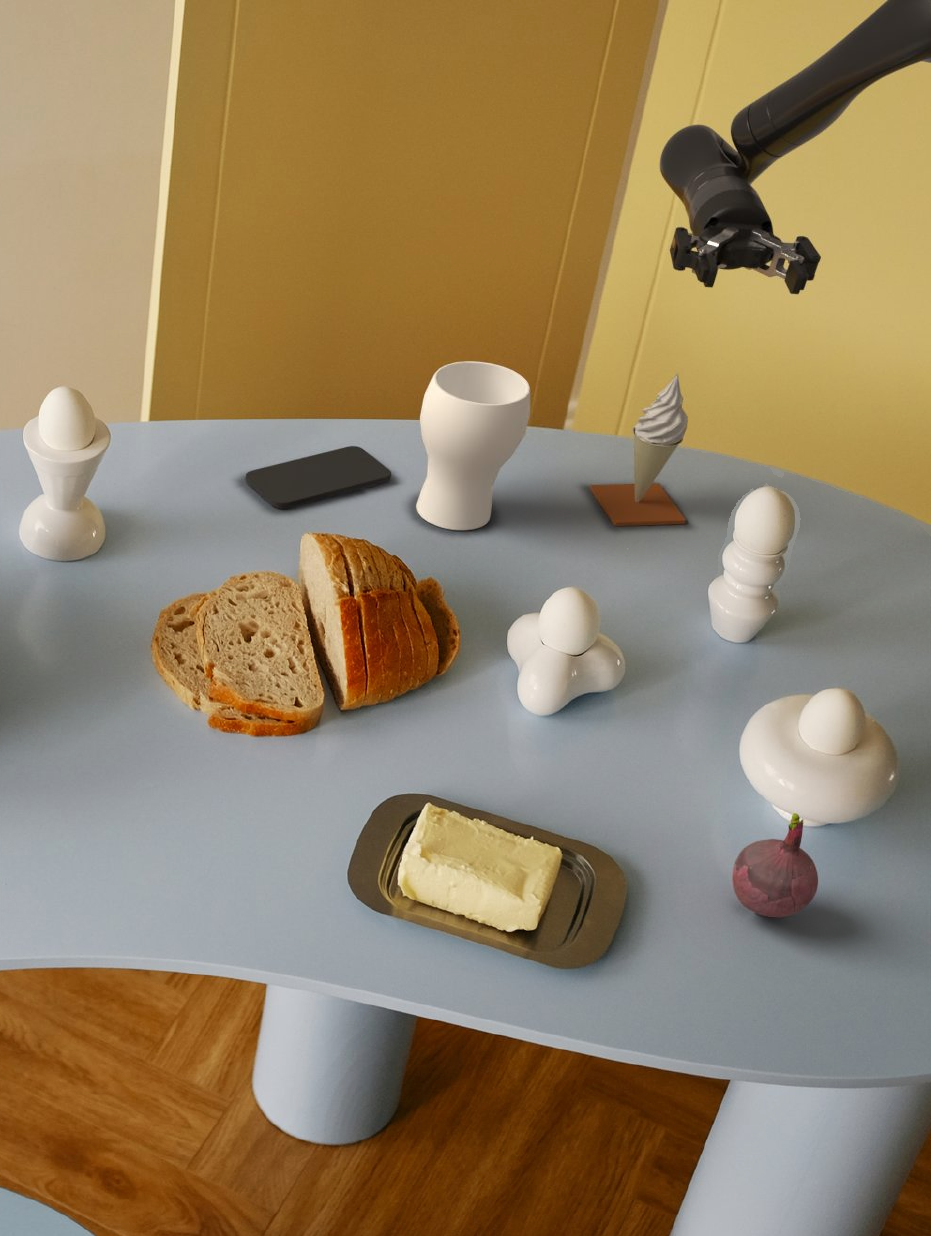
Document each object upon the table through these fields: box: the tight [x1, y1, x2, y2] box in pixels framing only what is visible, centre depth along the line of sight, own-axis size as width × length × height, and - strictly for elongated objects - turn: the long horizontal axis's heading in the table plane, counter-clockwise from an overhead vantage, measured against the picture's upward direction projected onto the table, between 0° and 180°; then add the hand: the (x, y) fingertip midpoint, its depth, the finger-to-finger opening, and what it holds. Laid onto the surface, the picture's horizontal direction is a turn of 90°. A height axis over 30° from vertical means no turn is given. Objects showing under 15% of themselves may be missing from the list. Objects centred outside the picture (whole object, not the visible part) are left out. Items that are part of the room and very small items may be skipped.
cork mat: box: [589, 482, 687, 527], centre depth 176 cm, size 8×8×1 cm
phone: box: [245, 445, 392, 509], centre depth 179 cm, size 7×1×15 cm
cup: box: [415, 360, 531, 531], centre depth 170 cm, size 11×11×15 cm
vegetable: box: [731, 812, 819, 918], centre depth 126 cm, size 6×6×10 cm
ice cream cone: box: [632, 372, 689, 503], centre depth 171 cm, size 5×5×15 cm
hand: (755, 282), depth 170 cm, fingers open, 8 cm apart
